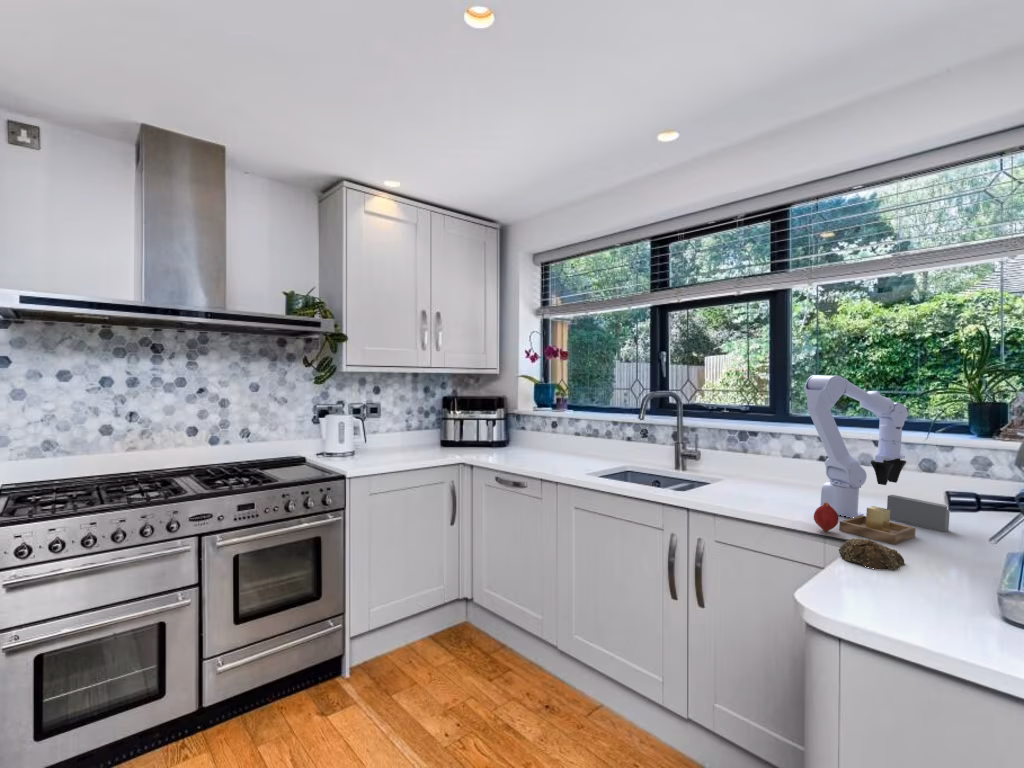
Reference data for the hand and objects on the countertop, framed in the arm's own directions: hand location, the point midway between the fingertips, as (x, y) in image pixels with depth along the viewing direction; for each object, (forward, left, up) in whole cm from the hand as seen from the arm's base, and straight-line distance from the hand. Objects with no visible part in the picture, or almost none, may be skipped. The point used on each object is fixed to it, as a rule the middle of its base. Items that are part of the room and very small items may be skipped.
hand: (887, 483), depth 160 cm
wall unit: (+10, -6, -9) cm, 15 cm away
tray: (+8, -27, -9) cm, 30 cm away
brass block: (+8, -27, -9) cm, 29 cm away
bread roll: (+16, -52, -10) cm, 55 cm away
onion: (0, -38, -10) cm, 39 cm away
